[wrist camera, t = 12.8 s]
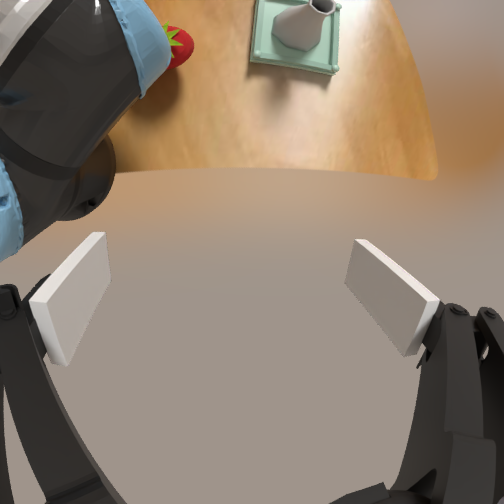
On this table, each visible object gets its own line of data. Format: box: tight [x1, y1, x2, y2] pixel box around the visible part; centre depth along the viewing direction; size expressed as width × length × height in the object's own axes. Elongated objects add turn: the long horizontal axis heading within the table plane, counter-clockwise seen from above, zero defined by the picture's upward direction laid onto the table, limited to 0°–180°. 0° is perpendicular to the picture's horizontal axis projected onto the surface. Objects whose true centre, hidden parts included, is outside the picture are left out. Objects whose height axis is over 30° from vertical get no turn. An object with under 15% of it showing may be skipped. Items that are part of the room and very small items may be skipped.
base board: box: [250, 0, 342, 76], centre depth 30 cm, size 12×12×3 cm
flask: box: [272, 0, 336, 52], centre depth 26 cm, size 7×7×10 cm
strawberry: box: [162, 21, 194, 70], centre depth 27 cm, size 6×8×10 cm
